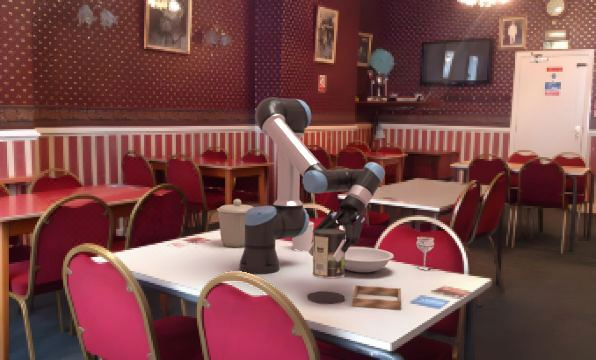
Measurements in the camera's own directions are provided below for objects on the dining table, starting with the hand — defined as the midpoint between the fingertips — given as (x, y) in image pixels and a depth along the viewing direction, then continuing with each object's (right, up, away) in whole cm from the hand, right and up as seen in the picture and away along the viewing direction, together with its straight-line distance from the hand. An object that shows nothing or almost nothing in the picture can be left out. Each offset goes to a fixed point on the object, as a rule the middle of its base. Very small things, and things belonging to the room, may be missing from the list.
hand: (322, 256), depth 179 cm
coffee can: (+2, -7, +3) cm, 7 cm away
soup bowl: (+17, -11, +41) cm, 45 cm away
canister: (-35, -6, +82) cm, 89 cm away
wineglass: (+42, -11, +47) cm, 64 cm away
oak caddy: (+17, -14, +2) cm, 23 cm away
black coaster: (+1, -14, +4) cm, 14 cm away
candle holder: (-6, -7, +77) cm, 77 cm away
